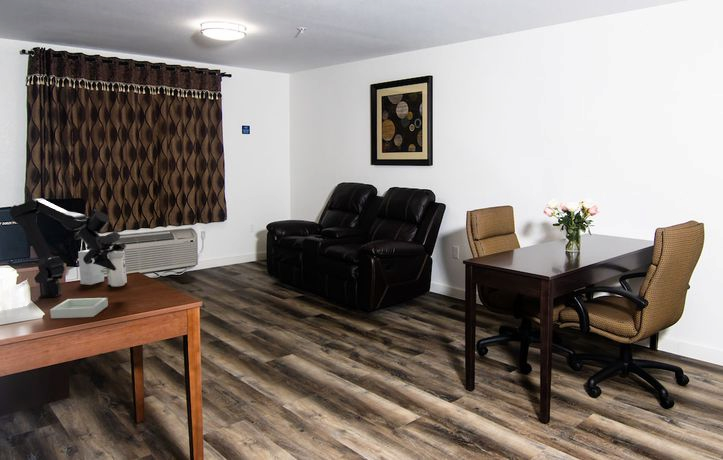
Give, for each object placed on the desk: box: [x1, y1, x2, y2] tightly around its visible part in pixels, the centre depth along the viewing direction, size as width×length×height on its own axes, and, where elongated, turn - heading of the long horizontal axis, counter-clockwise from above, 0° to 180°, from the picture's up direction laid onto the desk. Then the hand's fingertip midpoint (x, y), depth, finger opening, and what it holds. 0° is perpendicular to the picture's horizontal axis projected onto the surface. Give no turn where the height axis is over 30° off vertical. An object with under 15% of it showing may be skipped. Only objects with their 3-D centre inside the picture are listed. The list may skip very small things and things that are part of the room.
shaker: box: [108, 250, 126, 287], centre depth 204 cm, size 5×5×13 cm
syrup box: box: [106, 250, 128, 286], centre depth 231 cm, size 6×6×14 cm
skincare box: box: [77, 249, 105, 286], centre depth 234 cm, size 8×6×15 cm
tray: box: [49, 297, 109, 319], centre depth 189 cm, size 14×14×3 cm
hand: (119, 268), depth 204 cm, fingers closed on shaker, 5 cm apart
